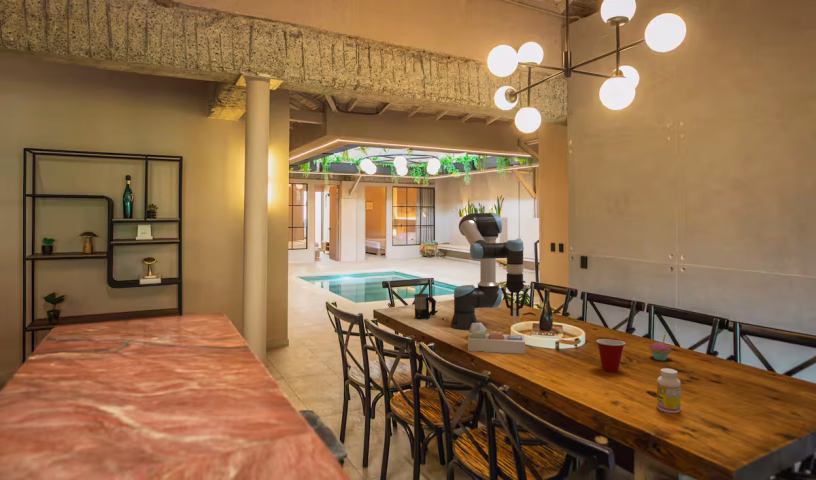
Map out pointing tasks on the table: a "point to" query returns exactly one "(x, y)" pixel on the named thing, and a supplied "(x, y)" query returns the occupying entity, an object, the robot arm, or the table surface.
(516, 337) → the slate tile
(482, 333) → the sage tile
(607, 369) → the plastic cup
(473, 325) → the die
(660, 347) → the cupcake
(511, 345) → the keypad housing
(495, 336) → the terracotta tile
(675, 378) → the supplement bottle
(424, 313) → the milk frother
